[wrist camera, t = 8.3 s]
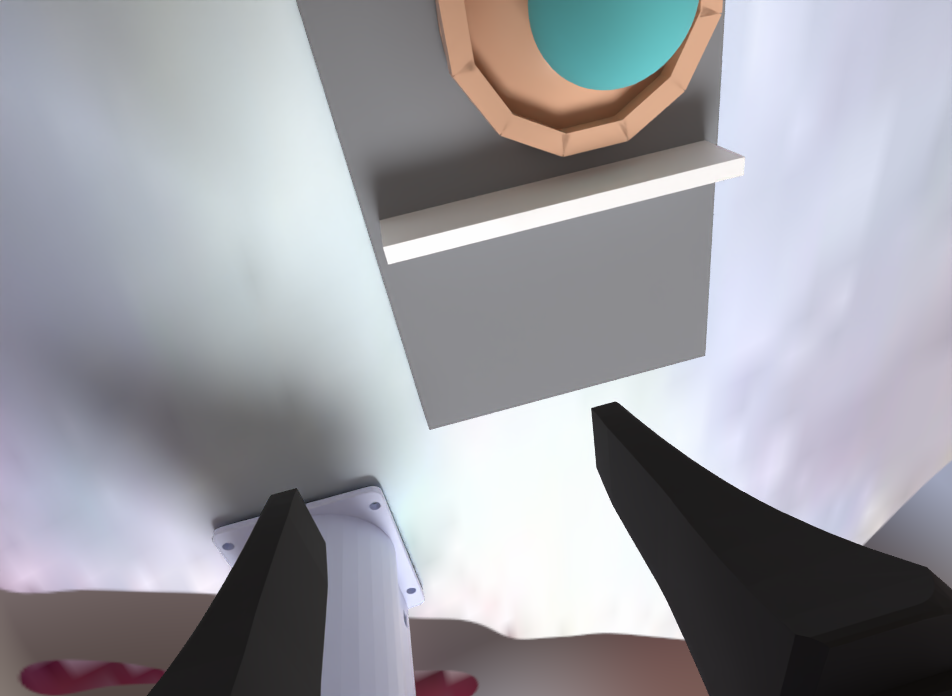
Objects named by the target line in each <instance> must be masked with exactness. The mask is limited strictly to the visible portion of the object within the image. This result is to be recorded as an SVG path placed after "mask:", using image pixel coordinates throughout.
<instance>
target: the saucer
mask: <svg viewBox="0 0 952 696" xmlns="http://www.w3.org/2000/svg"><path fill="white" fill-rule="evenodd" d="M435 2H436V13H437V20H438V28H439V33H440V37H441V41H442V45H443V49H444V52H445V55H446V60H447V65H448V70H449V73H450V75H451V77H452V78H453V79H454V80H455V82H456V83H457V84H458V85H459V87H460V88H461V89H462V90H463V92H464V93H465V94H466V96H467V97H468V98H469V100H470V101H471V102H472V103H473V104H474V106H475V107H476V108H477V109H478V110H479V111H480V113H481V114H482V115H483V116H484V118H485V119H486V120H487V121H488V123H489V124H490V125H491V126H492V128H493V129H494V130H495V131H496V132H497V133H498V134H499V135H500V136H503V137H506V138H509V139H511V140H514V141H517V142H520V143H523V144H526V145H529V146H532V147H535V148H538V149H541V150H544V151H547V152H550V153H553V154H556V155H559V156H561V157H562V156H563V157H565V156H569V155H573V154H577V153H581V152H585V151H589V150H594V149H598V148H602V147H606V146H610V145H614V144H618V143H622V142H626V141H628V140H630V139H631V138H632V137H633V136H635V135H636V134H637V133H638V132H639V131H640V130H641V129H643V128H644V127H645V126H646V125H647V124H648V123H649V122H651V121H652V120H653V119H654V118H655V117H656V116H657V115H658V114H660V113H661V112H662V111H663V110H664V109H665V108H666V107H668V106H669V105H670V104H671V103H672V102H673V101H674V100H676V99H677V98H678V97H679V96H680V95H681V94H682V93H684V92H685V91H684V90H686V88H687V86H688V84H689V82H690V80H691V78H692V76H693V74H694V72H695V69H696V67H697V65H698V63H699V61H700V59H701V57H702V55H703V53H704V51H705V48H706V46H707V44H708V42H709V40H710V38H711V36H712V34H713V32H714V30H715V28H716V25H717V23H718V21H719V19H720V17H721V15H722V14H720V13H722V7H723V0H699V3H698V7H697V11H696V14H695V17H694V20H693V22H692V25H691V27H690V29H689V31H688V33H687V35H686V37H685V39H684V40H683V42H682V44H681V45H680V47H679V48H678V49H677V50H676V52H675V53H674V54H673V56H672V57H671V58H670V59H669V60H668V61H667V62H666V63H665V64H664V65H663V66H662V67H661V68H660V69H658V70H657V71H656V72H655V73H653V74H652V75H650V76H648V77H647V78H645V79H644V80H642V81H640V82H638V83H636V84H633V85H630V86H627V87H624V88H620V89H614V90H594V89H587V88H584V87H580V86H578V85H576V84H573V83H571V82H569V81H567V80H566V79H564V78H563V77H561V76H560V75H559V74H558V73H556V72H555V71H554V70H553V69H552V68H551V67H550V65H549V64H548V63H547V62H546V60H545V59H544V58H543V56H542V54H541V53H540V51H539V50H538V47H537V45H536V43H535V41H534V38H533V34H532V31H531V27H530V22H529V15H528V0H435Z"/></svg>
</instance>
